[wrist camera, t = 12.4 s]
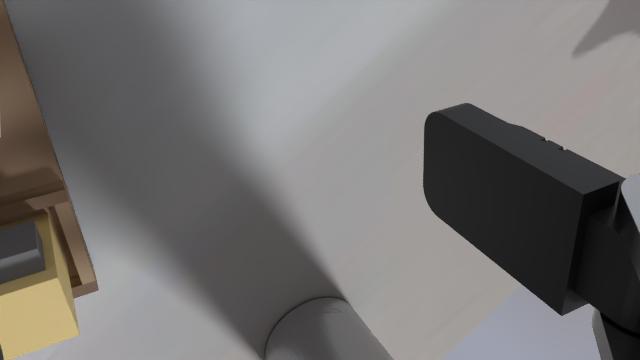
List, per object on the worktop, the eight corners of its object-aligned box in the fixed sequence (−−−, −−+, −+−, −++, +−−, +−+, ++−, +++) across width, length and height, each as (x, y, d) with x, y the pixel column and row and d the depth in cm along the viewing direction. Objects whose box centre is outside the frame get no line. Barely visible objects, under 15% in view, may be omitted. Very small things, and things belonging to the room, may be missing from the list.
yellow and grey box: (67, 264, 38) (79, 334, 32) (-2, 286, 36) (0, 363, 31) (40, 192, 35) (49, 255, 29) (-35, 213, 34) (-40, 283, 28)
